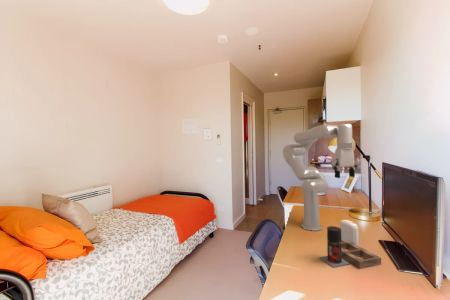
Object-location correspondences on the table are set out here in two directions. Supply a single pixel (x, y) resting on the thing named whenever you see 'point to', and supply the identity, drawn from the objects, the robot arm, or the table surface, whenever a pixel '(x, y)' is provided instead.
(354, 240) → the photo printer
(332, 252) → the deodorant
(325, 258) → the mat
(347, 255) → the well board
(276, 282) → the table surface
